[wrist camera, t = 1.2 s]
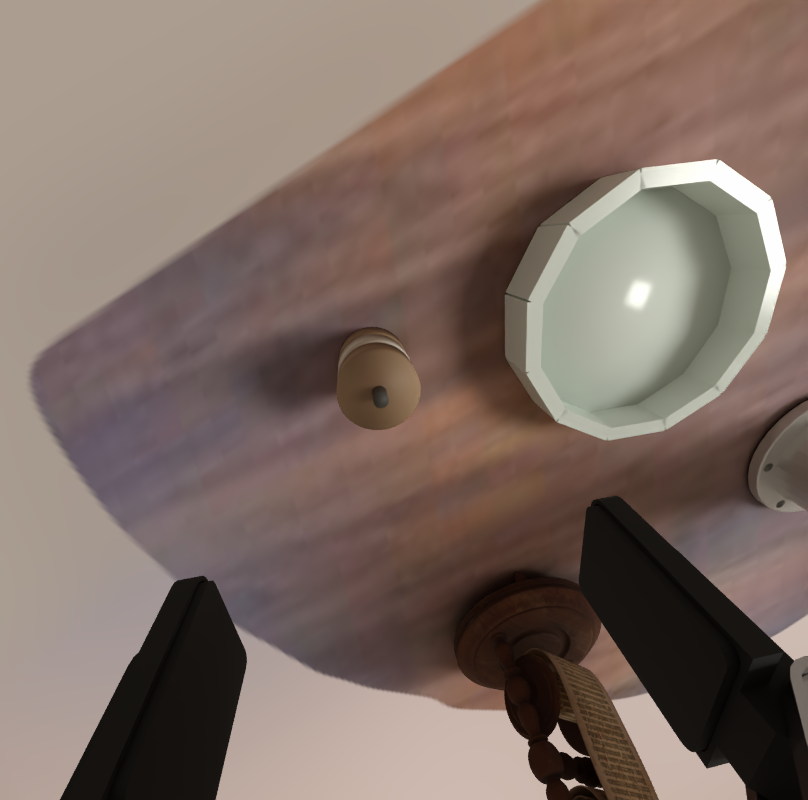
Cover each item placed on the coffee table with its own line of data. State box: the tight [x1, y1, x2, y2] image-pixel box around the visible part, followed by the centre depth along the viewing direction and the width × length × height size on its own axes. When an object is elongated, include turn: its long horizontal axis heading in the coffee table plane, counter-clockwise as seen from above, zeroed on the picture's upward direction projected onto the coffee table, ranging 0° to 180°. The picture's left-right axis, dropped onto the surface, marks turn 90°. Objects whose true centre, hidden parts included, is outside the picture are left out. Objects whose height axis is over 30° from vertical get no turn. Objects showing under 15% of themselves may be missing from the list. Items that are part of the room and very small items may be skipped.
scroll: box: [454, 572, 659, 800], centre depth 30 cm, size 15×15×20 cm
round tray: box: [505, 159, 786, 441], centre depth 25 cm, size 17×17×4 cm
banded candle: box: [337, 327, 421, 430], centre depth 23 cm, size 5×5×7 cm
